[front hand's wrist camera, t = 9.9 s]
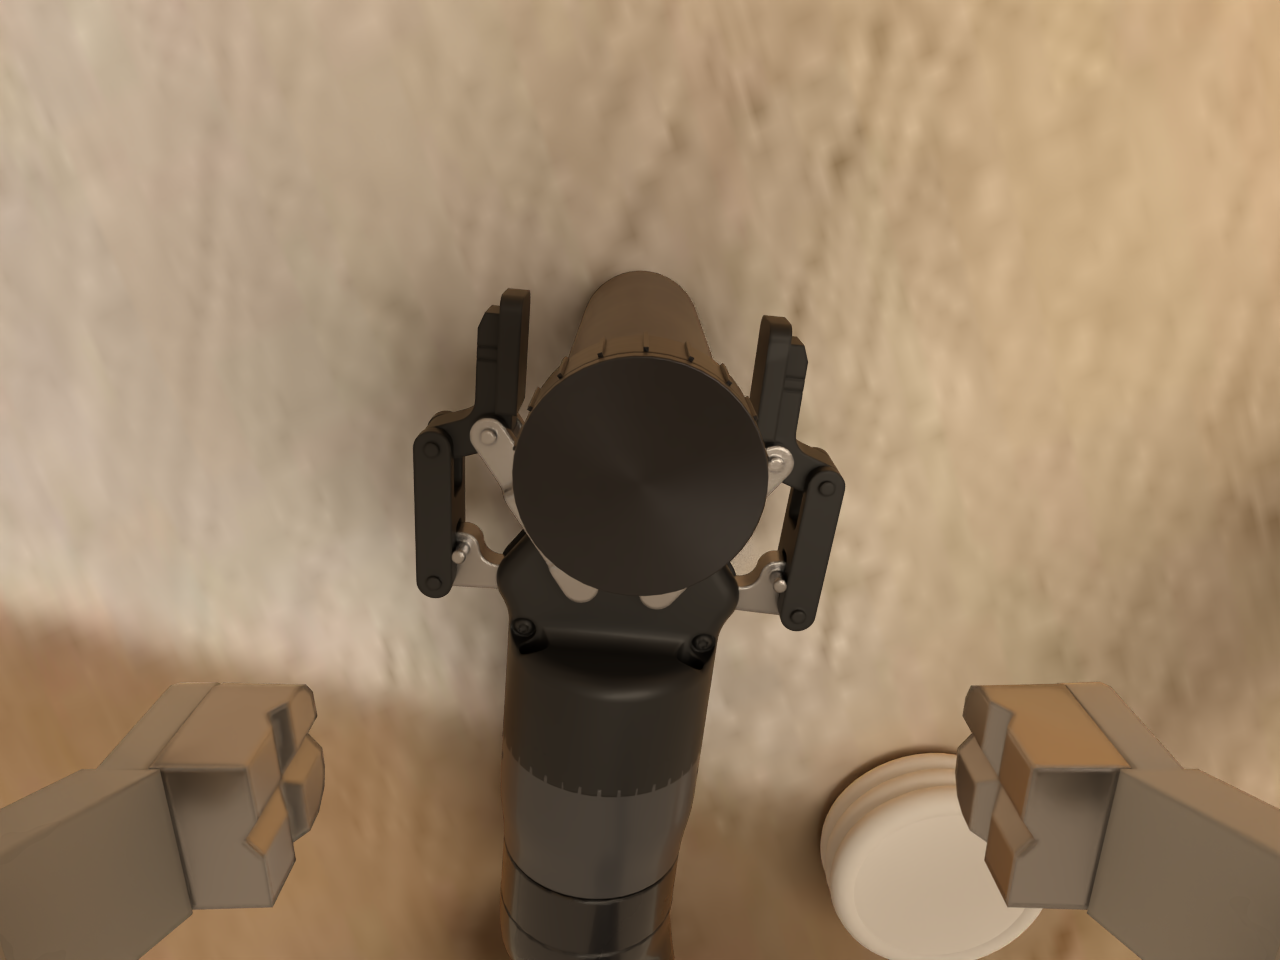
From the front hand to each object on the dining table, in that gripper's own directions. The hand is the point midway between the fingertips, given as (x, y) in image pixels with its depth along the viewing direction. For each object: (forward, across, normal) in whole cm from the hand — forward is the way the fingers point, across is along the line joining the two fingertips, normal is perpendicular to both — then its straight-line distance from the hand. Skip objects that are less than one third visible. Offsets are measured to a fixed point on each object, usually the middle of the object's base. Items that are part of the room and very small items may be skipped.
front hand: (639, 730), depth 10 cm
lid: (+9, 0, 0) cm, 9 cm away
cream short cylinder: (+25, -14, +24) cm, 38 cm away
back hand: (+19, 0, -2) cm, 19 cm away
